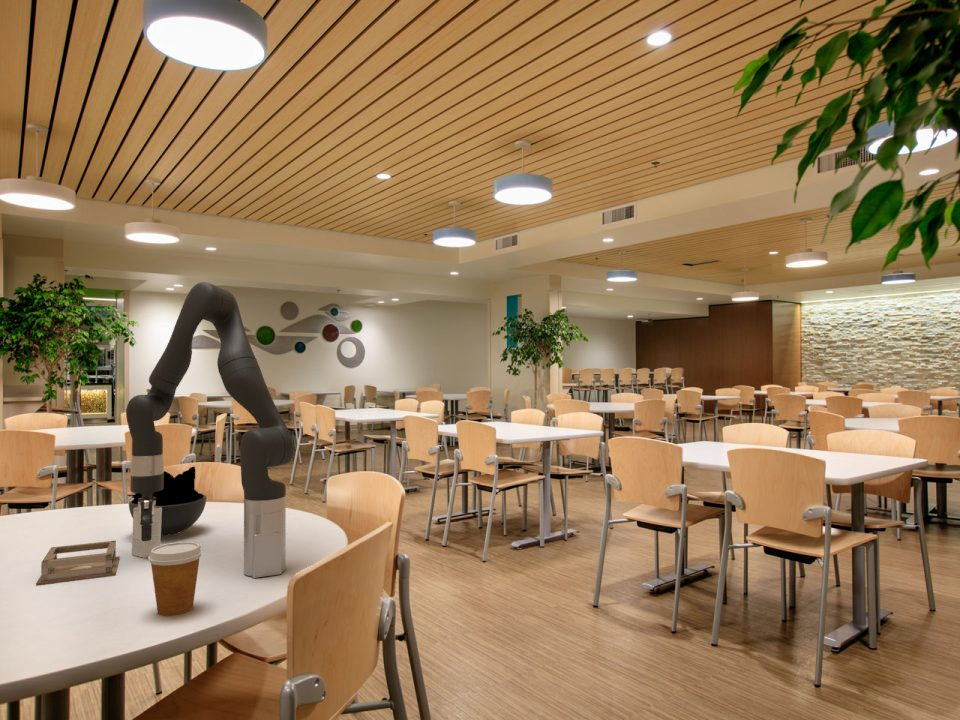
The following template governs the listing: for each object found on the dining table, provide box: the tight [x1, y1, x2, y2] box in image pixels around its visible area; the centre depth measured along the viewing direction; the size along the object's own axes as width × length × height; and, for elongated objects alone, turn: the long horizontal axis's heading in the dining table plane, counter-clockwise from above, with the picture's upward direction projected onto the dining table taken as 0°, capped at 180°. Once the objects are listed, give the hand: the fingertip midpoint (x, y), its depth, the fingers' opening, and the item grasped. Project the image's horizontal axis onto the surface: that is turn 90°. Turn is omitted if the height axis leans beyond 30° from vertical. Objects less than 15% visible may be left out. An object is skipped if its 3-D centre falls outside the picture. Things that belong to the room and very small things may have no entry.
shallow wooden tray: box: [40, 540, 117, 581], centre depth 148 cm, size 13×13×4 cm
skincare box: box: [131, 506, 162, 559], centre depth 161 cm, size 6×4×12 cm
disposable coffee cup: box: [147, 541, 203, 616], centre depth 124 cm, size 10×10×12 cm
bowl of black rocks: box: [128, 466, 207, 536], centre depth 181 cm, size 20×20×19 cm
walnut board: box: [35, 555, 121, 586], centre depth 148 cm, size 15×15×1 cm
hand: (146, 536), depth 161 cm, fingers open, 7 cm apart
